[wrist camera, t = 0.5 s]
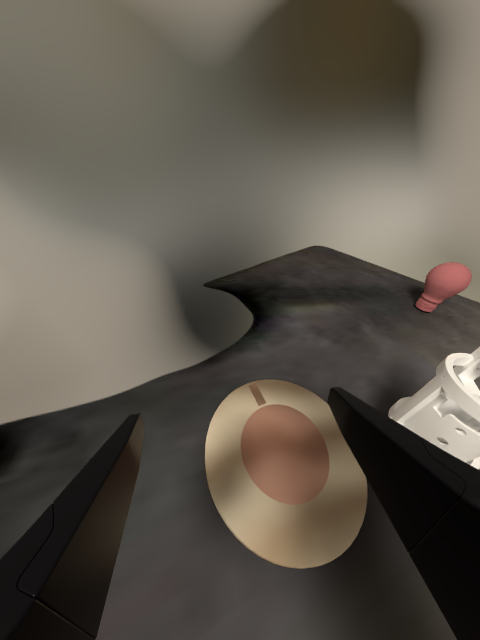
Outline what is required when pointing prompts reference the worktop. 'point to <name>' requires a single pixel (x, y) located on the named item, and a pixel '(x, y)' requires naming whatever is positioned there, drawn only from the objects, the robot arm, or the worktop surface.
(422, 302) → the light bulb
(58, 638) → the robot arm
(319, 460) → the turntable
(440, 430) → the strainer
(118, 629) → the worktop surface
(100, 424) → the worktop surface
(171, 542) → the worktop surface
